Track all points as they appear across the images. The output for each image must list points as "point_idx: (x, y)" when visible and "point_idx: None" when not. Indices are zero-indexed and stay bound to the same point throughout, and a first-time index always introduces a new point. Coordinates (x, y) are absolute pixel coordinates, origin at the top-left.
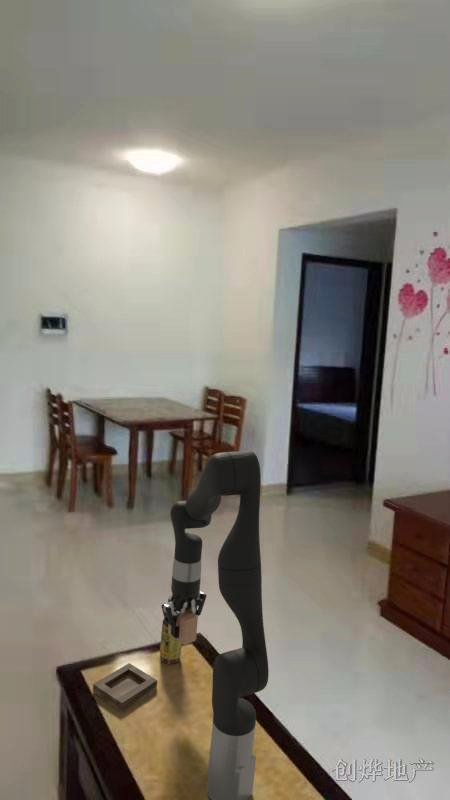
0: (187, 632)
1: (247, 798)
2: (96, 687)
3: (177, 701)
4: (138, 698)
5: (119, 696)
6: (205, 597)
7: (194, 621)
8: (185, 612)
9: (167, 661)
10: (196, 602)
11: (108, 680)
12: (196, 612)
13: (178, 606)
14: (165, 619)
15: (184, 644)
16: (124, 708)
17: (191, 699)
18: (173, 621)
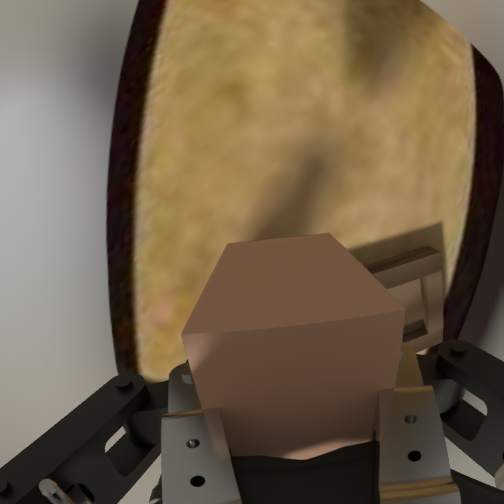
0: (327, 257)
1: None
2: (441, 331)
3: (296, 204)
4: (381, 263)
5: (431, 277)
6: (2, 475)
7: (245, 301)
8: (281, 446)
9: None
10: (110, 485)
11: (414, 340)
12: (145, 407)
13: (480, 499)
14: (471, 407)
15: (329, 234)
16: (422, 249)
17: (256, 191)
18: (461, 365)
